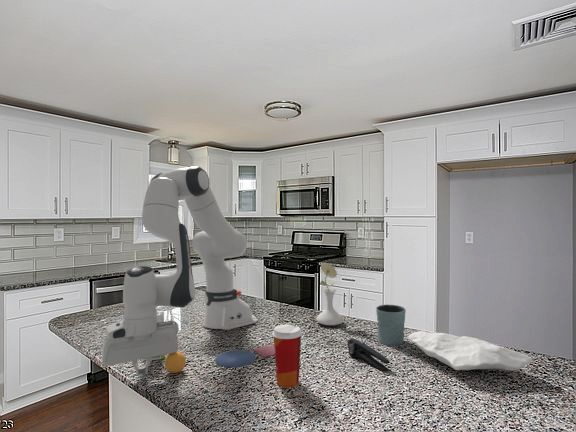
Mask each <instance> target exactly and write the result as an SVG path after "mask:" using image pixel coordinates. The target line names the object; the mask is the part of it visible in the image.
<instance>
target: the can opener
mask: <svg viewBox="0 0 576 432" xmlns="http://www.w3.org/2000/svg"><path fill="white" fill-rule="evenodd" d="M347 348H348V355H349V356H350V357H353V358H357V359H359V358H361V359H363V360H365V361H367V362H368V363H369V364H370V365H371V366H373V367H374V368H376V369H377V370H379V371H381V372H386V373H387V372H389V369H388V367H387V366H385V365H388V364H390V360H389V359H388V358H387V357H386V356H384V355H383V354H381V352H378V351H377V350H376V349H374V348H373V347H371V346H369V345H367V344H366V342H364V341H360V340H357V339H356V338H353V337H352V338H351V337H350V338H349V340H347ZM382 363H384V364H385V365H384V364H382Z"/></svg>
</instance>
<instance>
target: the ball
mask: <svg viewBox="0 0 576 432" xmlns="http://www.w3.org/2000/svg"><path fill="white" fill-rule="evenodd" d="M186 363H187V360H186V356H185V354H184V353H182V352H180V351H178V350H177V352H175V353H171V354H167V355H166V357H165V358H164V366H165V370H166V371H168V372H169V373H170V374H177V373H180V372H181V371H182V370H184V368H185V366H186Z"/></svg>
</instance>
